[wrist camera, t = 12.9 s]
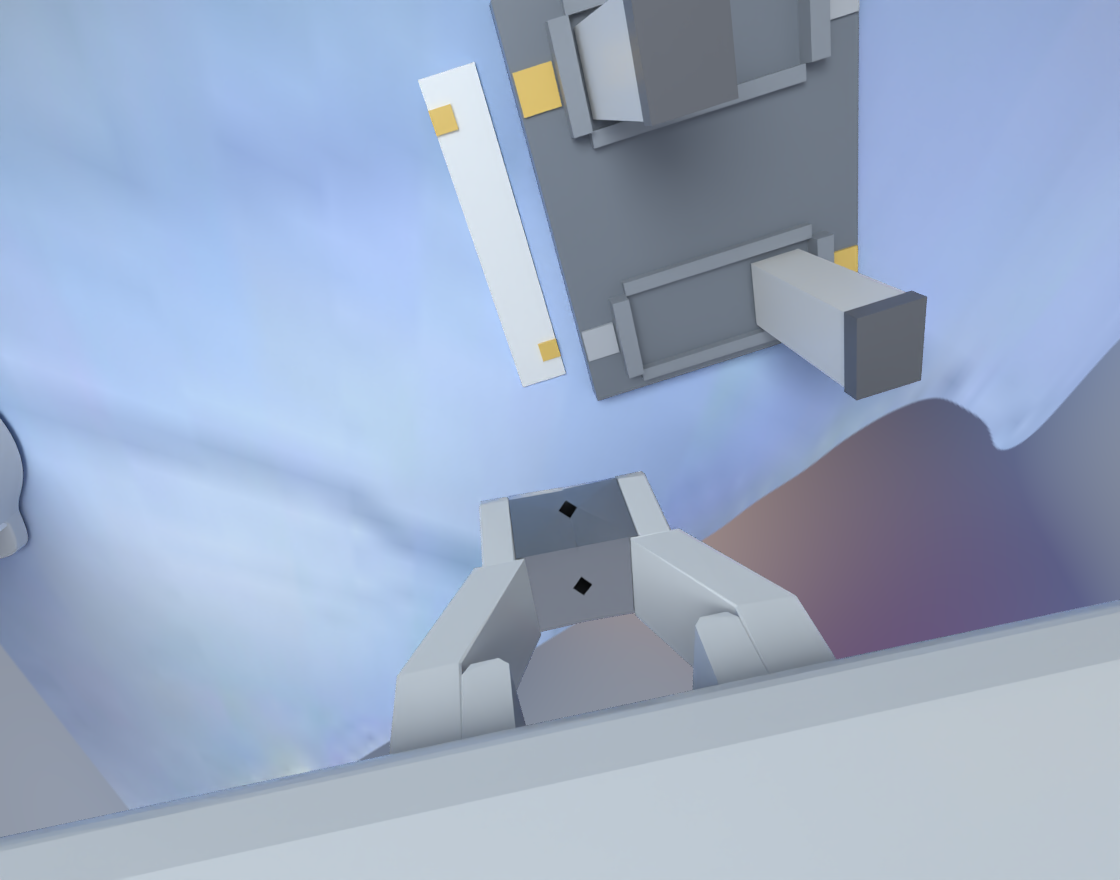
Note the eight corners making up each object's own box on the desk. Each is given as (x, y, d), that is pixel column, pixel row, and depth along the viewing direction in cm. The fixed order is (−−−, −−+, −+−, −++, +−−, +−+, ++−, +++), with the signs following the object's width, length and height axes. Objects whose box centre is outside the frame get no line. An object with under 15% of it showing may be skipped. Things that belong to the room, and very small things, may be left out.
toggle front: (591, 122, 29) (651, 126, 20) (571, 25, 27) (627, -21, 18) (650, 103, 29) (738, 98, 20) (634, 4, 27) (725, -53, 18)
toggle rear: (755, 326, 37) (856, 400, 27) (749, 262, 34) (856, 318, 25) (803, 311, 37) (920, 380, 27) (799, 246, 34) (926, 296, 25)
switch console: (531, 411, 39) (535, 429, 37) (402, 33, 28) (396, 26, 26) (844, 312, 39) (868, 324, 37) (841, -108, 28) (875, -129, 25)
